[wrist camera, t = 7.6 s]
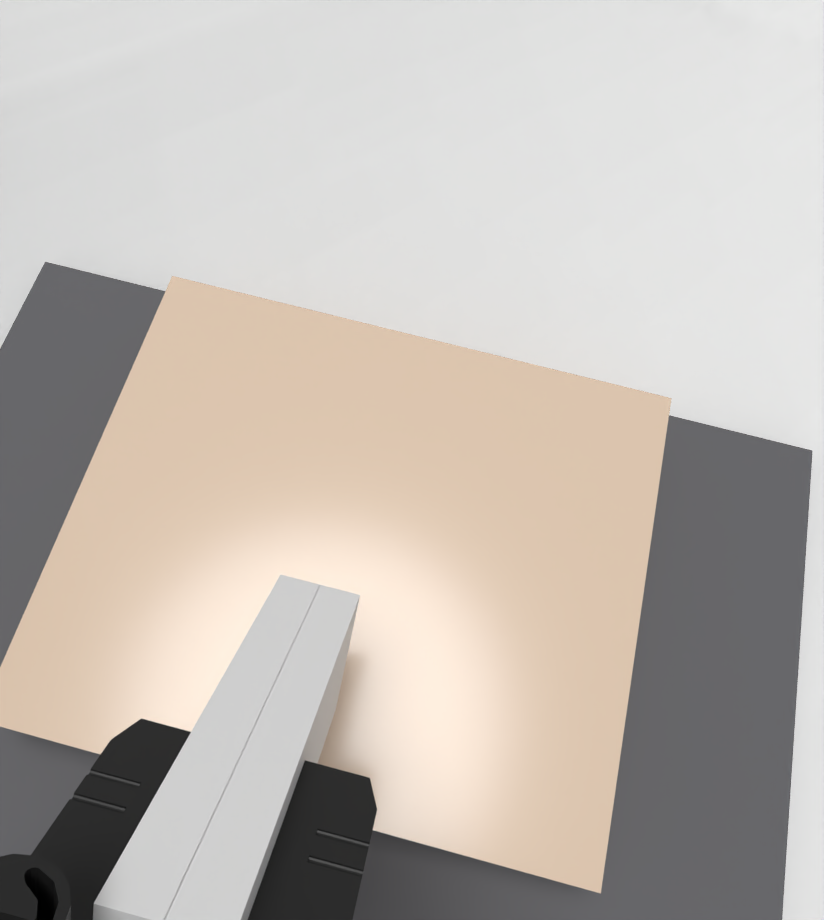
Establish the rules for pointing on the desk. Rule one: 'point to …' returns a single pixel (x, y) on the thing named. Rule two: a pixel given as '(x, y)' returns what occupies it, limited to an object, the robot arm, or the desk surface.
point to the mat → (654, 670)
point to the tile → (365, 564)
